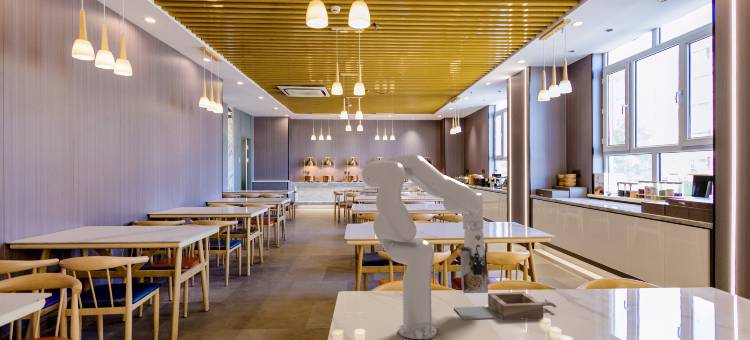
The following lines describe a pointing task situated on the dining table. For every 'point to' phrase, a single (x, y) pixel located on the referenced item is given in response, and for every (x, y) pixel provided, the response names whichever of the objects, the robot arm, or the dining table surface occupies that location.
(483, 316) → the mat
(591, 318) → the dining table surface
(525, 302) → the open brown box
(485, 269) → the coffee box
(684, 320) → the dining table surface
